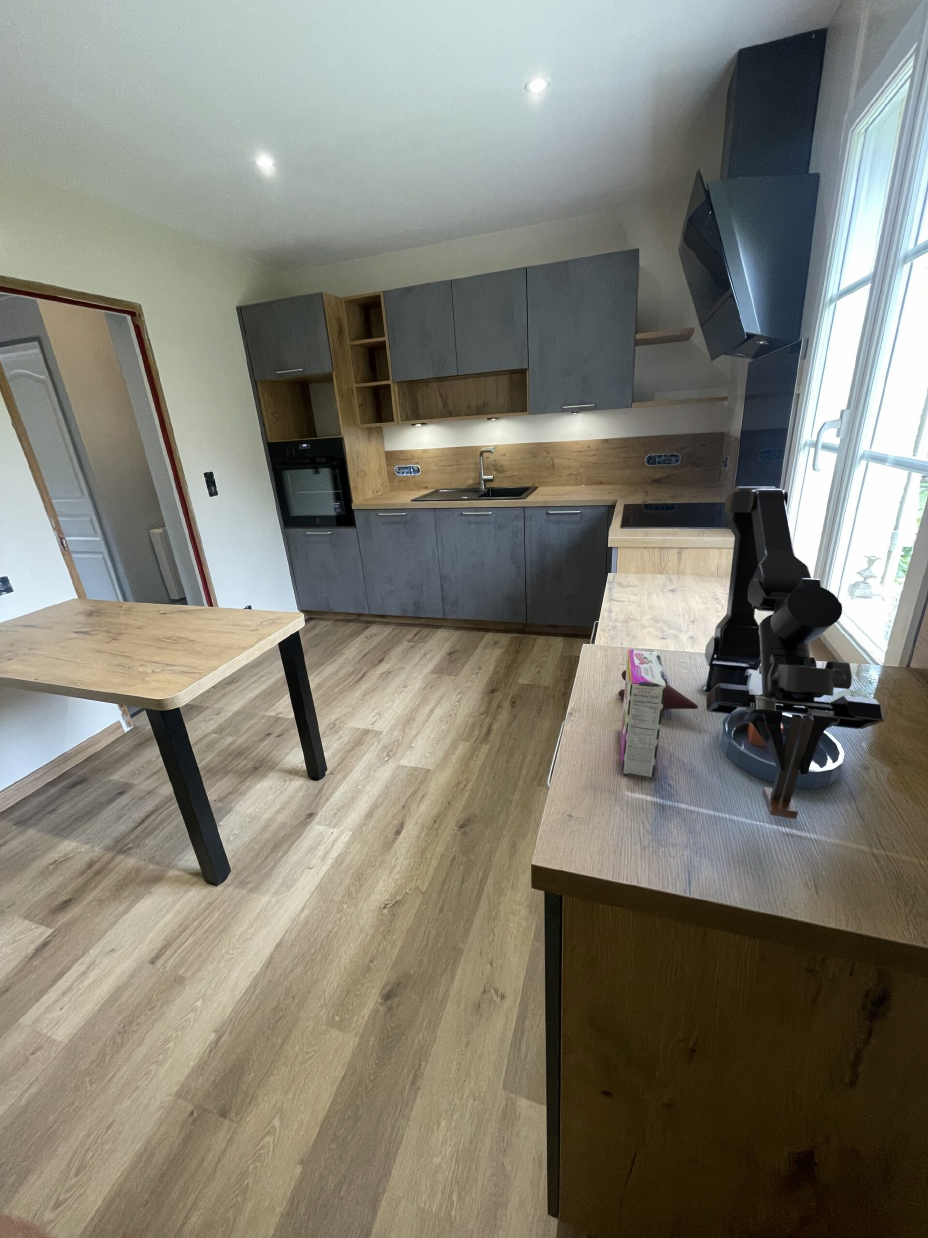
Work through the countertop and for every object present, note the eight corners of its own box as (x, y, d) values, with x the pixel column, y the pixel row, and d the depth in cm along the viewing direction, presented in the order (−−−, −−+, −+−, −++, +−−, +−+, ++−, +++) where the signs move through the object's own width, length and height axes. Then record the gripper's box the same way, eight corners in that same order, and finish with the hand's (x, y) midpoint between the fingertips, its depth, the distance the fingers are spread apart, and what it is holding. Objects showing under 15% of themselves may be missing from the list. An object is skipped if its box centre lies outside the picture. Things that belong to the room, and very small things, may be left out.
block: (750, 744, 79) (754, 723, 78) (747, 730, 83) (751, 710, 81) (778, 749, 78) (783, 728, 76) (774, 735, 81) (779, 715, 80)
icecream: (709, 685, 86) (632, 664, 97) (691, 690, 81) (612, 667, 92) (703, 722, 87) (627, 697, 98) (684, 729, 82) (607, 702, 93)
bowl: (705, 759, 77) (708, 741, 76) (734, 715, 88) (738, 698, 87) (829, 808, 67) (835, 788, 65) (844, 751, 78) (850, 733, 76)
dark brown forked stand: (761, 793, 66) (784, 706, 61) (786, 797, 66) (811, 709, 60) (770, 815, 63) (794, 724, 58) (796, 819, 62) (823, 727, 57)
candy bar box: (618, 733, 84) (627, 647, 78) (649, 737, 83) (660, 650, 77) (619, 775, 74) (630, 681, 68) (654, 780, 73) (668, 685, 67)
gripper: (724, 628, 62) (727, 752, 56) (901, 641, 56) (923, 779, 51) (705, 656, 71) (705, 764, 66) (853, 669, 66) (868, 787, 61)
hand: (792, 773), depth 61 cm, fingers closed on dark brown forked stand, 2 cm apart
